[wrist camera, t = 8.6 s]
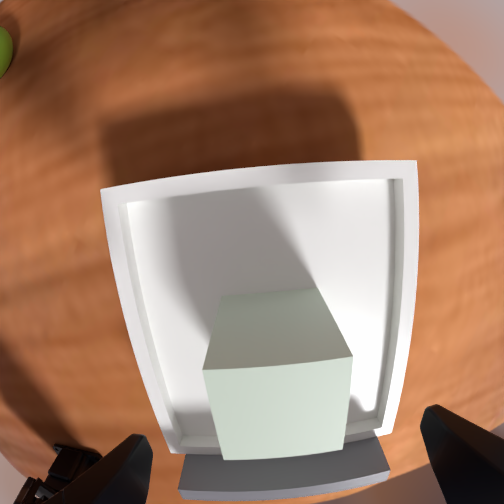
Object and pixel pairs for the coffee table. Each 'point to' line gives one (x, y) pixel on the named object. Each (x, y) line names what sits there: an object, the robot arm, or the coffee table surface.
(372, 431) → the tray
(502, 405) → the coffee table surface
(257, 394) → the part block
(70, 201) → the coffee table surface
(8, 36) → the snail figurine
